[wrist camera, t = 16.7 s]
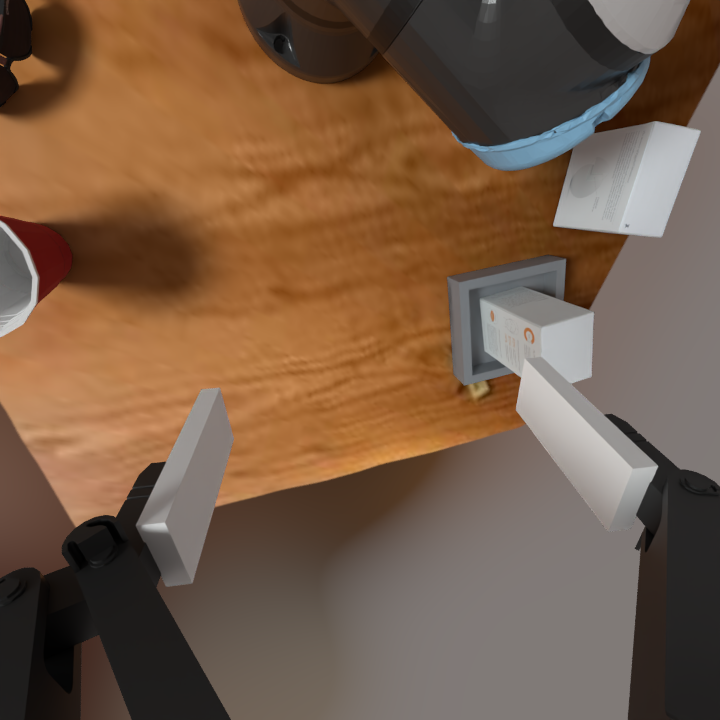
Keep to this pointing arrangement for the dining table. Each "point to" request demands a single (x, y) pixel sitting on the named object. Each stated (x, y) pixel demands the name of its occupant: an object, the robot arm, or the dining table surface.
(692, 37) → the dining table surface
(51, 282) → the plastic cup
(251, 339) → the dining table surface
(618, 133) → the skincare box
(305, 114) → the dining table surface
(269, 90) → the dining table surface
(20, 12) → the sunglasses
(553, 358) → the small box
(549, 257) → the tray
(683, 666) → the robot arm
